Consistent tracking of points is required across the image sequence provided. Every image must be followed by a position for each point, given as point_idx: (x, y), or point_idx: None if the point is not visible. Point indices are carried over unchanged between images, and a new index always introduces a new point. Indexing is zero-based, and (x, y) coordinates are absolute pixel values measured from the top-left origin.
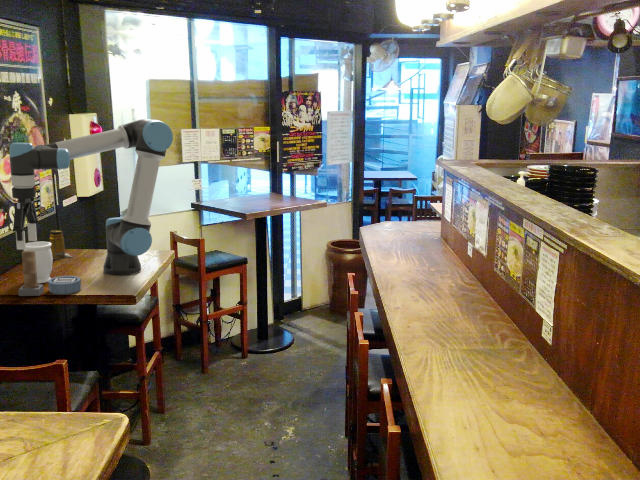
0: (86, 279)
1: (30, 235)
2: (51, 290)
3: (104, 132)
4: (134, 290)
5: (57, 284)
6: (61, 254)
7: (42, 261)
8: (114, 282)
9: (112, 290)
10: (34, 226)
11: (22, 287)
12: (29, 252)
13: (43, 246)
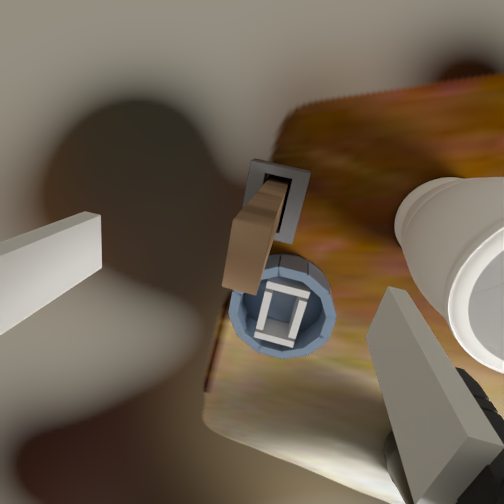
0: None
1: (396, 332)
2: None
3: None
4: (233, 432)
5: (232, 292)
6: None
7: (414, 276)
8: (321, 413)
9: (246, 396)
10: (408, 457)
11: (273, 173)
12: (226, 264)
13: (460, 334)
